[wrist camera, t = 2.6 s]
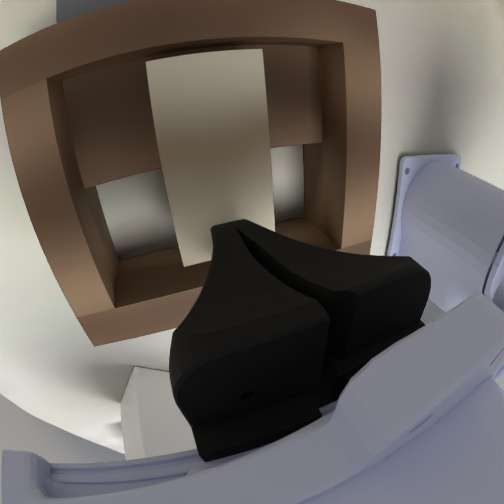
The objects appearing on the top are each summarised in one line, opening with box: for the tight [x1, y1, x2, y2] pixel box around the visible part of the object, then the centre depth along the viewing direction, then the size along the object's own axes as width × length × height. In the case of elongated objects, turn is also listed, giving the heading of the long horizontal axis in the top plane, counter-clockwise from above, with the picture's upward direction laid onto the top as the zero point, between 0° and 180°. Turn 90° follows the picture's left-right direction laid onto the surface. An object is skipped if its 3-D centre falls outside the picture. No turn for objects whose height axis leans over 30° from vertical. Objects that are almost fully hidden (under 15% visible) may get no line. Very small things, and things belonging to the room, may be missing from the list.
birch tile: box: [146, 49, 275, 267], centre depth 11 cm, size 8×4×2 cm, turn 5°
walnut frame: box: [0, 0, 381, 346], centre depth 12 cm, size 14×15×4 cm
